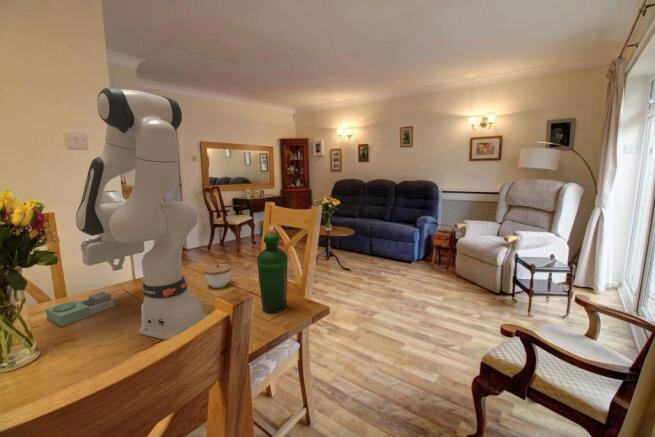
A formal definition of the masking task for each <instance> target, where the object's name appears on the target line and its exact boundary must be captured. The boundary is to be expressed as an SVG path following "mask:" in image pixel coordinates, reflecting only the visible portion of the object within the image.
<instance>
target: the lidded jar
mask: <svg viewBox="0 0 655 437" xmlns="http://www.w3.org/2000/svg"><path fill="white" fill-rule="evenodd" d="M203 272H204V278H205V280H206V284H208V285H209V286H210V287H211V288H212V289H221V288H224V287H226V286H227V285H228V284H229V282H230V281H231V278H232V265H230V264H228V263H215V264H211V265H208V266H206V267H204V269H203Z"/></svg>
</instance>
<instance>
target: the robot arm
mask: <svg viewBox="0 0 655 437" xmlns="http://www.w3.org/2000/svg"><path fill="white" fill-rule="evenodd" d="M96 101H97V102H96V107H97V111H98V116H99V118H101V120H102V121H103V122H105V124H106V129H105V139H104V141H105V144H104V147H103V149H102V151H101V152H100V154H99V155H98V156H97V157H95V158H93V159H92V161H91V162H90V166H89V168H88V171H87V176H86V179H85V184H84V188H83V192H82V197H81V201H80V204H79V206H78V208H77V211H76V213H75V224H76V227H77V229H78V230H79V231H80V232H82V233H84V234H86V235H88V236H92V237H93V236H97V235H98V236H97V237H93V238H87V239H85V240H83V241H82V242H81V243H80V249H81V252H82V253H81V254H82V256H81V259H82V263H83V264H84V265H86V266H89V267H90V266H95V265H98V264H103V263H108V264H109V265H110V267H111V271H112V272H116V271H120V270H123V265H124V262H125V261H126V258H125V257H130V256H134V255H138V254H141V253H144V251H145V242H149V241H153V240H154V241H155V243H154V245H153V246H152V248H151V249H149V250H148V252H146V253H144V254H145V255H143V257H142V259H141V268H142V276H143V277H142V278H143V282H142V292H143V295H144V300H143V302H142V304H141V305H140V308H141V310H140V311H141V312H140V313H141V327H139V329H138V334H139V335H143V336H147V337H151V338H156V339H161V340H166V339H169V338H171V337H173V336H175V335H177V334H179V333H181V332H183V331H185V330H187V329H188V328H190V327H191V326H193V325H195V324H197V323H198V322H199V321H201V320H202V319H204V318H205V317H206V316H209V315H207V313H205V312H204V307H203V305H202V300H201V298H196V297H195V296H194V294H193V293H192V292H191V291H190V290H189V289H188V287H189V285H188V284H189V282H187V281H186V279H185V277H184V275H183V268H182V267H183V266H182V253H183V248H184V244H185V242H186V239H187V238H188V236H189V235H190V233H191V231H192V230H193V229H194V228H195V227H196V226H197V224H198V220H199V219H198V218H199V216H198V212H197V209H196V207H195V206H194V205H193V204H192V203H190V202H188V201H181V200H170V201H164V202H163V200H164V199H165V198H166V196H167V195H168V194H170V193H171V192H173V191H174V190H175V189H176V188H177V185H178V183H179V146H178V144H179V143H178V137H177V132H176V130H178V128H179V127H180V125H181V124H182V120H183V114H182V109H181V107H180V105H179V103H178V102H177V101H176V100H174V99H173V98H170V97H167V96H160V95H157V94H153V93H149V92H144V91H142V90H136V89H126V88H125V89H123V88H122V89H121V88H119V87H106V88H103V89H101V91H99V93H98V95H97V100H96ZM134 170H135V176H134V181H133V182H134V183H133V186H132V190H131V192H130V194H129V196H128V198H127V199H126V198H124V197H123V196H122V193H121V192H120V191H118V190H105V187H106V186H107V184H108V183H109V182H110V181H111V180H113V179H115V178H117V177H119V176H122V175H125V174H126V173H130V172H132V171H134ZM116 260H119V261H118V263H117V264H115V261H116ZM166 341H167V340H166Z"/></svg>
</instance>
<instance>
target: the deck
mask: <svg viewBox="0 0 655 437" xmlns="http://www.w3.org/2000/svg"><path fill="white" fill-rule="evenodd" d="M115 306H116V305H115V300H114V299H112V298H111V300H109V301H106V302H103V303H100V304H97V305H94V306H92V307H90V301H89V297H88V298H86V299H83V300H81V301H77V300H75V299H71V300H69V301H65V302H64V303H60V304H56V305H53V306H50V307H48V308H45V313H46V318H47V320H49V321H51V322H53V323H54V324H56V325H58V326H59V327H65V326H68V325H70V324H73V323H76V322H79V321H81V320H85V319H87V318H90V317H91V316H92V315H95V314H98V313H100V312H104V311H105V310H108V309H111V308H115Z"/></svg>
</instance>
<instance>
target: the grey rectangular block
mask: <svg viewBox="0 0 655 437" xmlns="http://www.w3.org/2000/svg"><path fill="white" fill-rule="evenodd" d="M88 298H89V301H90V306H89V307H92V306H94V305H97V304H100V303H103V302H106V301H109V300H111V299H112V294H111V293H108V292H105V291H98V292H97V293H93V294H90V295H88Z"/></svg>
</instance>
